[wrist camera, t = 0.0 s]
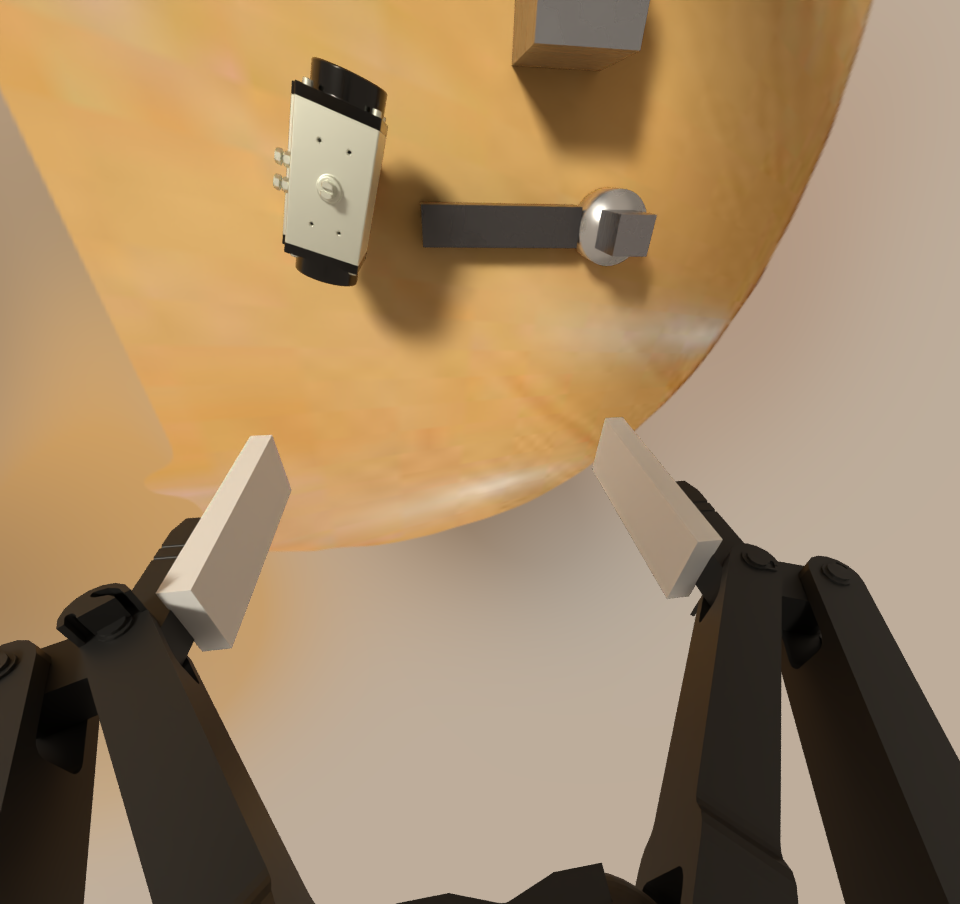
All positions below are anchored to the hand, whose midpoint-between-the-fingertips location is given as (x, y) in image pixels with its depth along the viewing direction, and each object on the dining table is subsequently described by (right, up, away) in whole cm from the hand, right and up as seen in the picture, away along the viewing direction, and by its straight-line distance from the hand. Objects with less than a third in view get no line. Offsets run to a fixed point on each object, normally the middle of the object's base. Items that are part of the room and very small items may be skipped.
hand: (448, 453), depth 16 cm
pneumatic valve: (-10, +23, +17) cm, 30 cm away
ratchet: (+6, +21, +20) cm, 30 cm away
